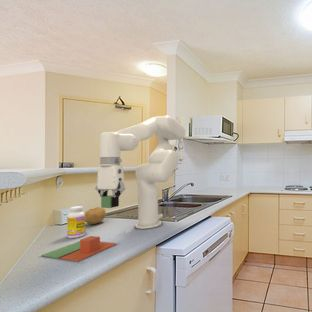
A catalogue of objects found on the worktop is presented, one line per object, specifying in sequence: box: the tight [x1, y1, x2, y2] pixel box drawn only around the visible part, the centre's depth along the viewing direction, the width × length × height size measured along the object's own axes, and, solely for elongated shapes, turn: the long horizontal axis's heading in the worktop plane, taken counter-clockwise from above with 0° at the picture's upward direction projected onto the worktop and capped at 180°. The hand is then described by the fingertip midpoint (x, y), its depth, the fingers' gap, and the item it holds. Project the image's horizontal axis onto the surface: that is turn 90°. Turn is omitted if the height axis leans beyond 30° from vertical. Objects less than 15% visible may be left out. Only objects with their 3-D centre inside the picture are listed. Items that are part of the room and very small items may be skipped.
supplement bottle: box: [66, 205, 86, 239], centre depth 103 cm, size 7×7×13 cm
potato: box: [84, 206, 107, 225], centre depth 123 cm, size 10×14×8 cm
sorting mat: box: [41, 240, 117, 263], centre depth 87 cm, size 16×17×1 cm
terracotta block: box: [79, 235, 101, 253], centre depth 85 cm, size 4×4×4 cm
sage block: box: [100, 194, 114, 209], centre depth 95 cm, size 4×4×4 cm
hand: (110, 206), depth 95 cm, fingers closed on sage block, 4 cm apart
